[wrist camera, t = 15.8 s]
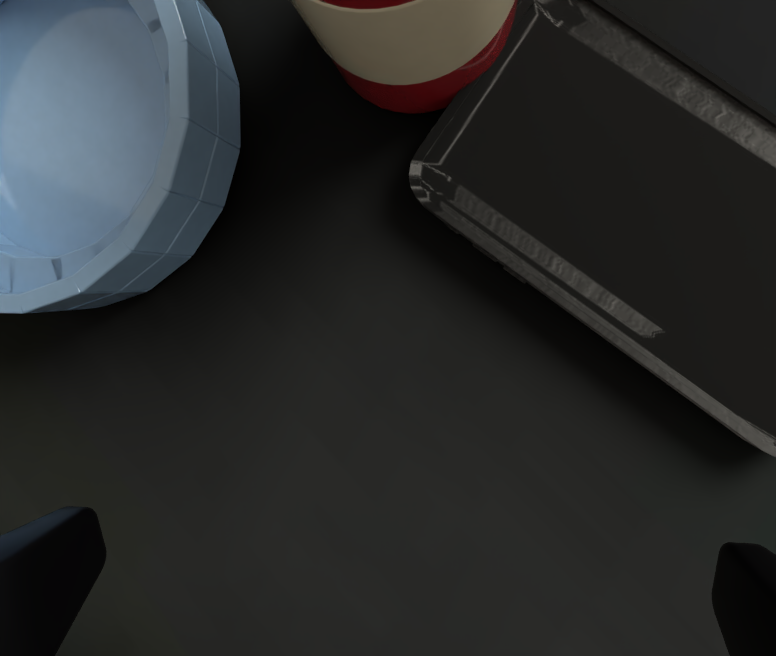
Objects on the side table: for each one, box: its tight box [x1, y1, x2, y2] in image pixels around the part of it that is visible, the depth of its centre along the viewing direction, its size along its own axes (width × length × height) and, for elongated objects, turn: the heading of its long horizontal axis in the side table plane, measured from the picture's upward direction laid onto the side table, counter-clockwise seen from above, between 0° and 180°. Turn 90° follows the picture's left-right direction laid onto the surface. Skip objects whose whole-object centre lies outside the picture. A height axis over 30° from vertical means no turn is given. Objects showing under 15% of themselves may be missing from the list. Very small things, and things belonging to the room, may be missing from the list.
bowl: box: [0, 0, 241, 314], centre depth 17 cm, size 13×13×4 cm
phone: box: [409, 0, 776, 457], centre depth 16 cm, size 8×1×15 cm
